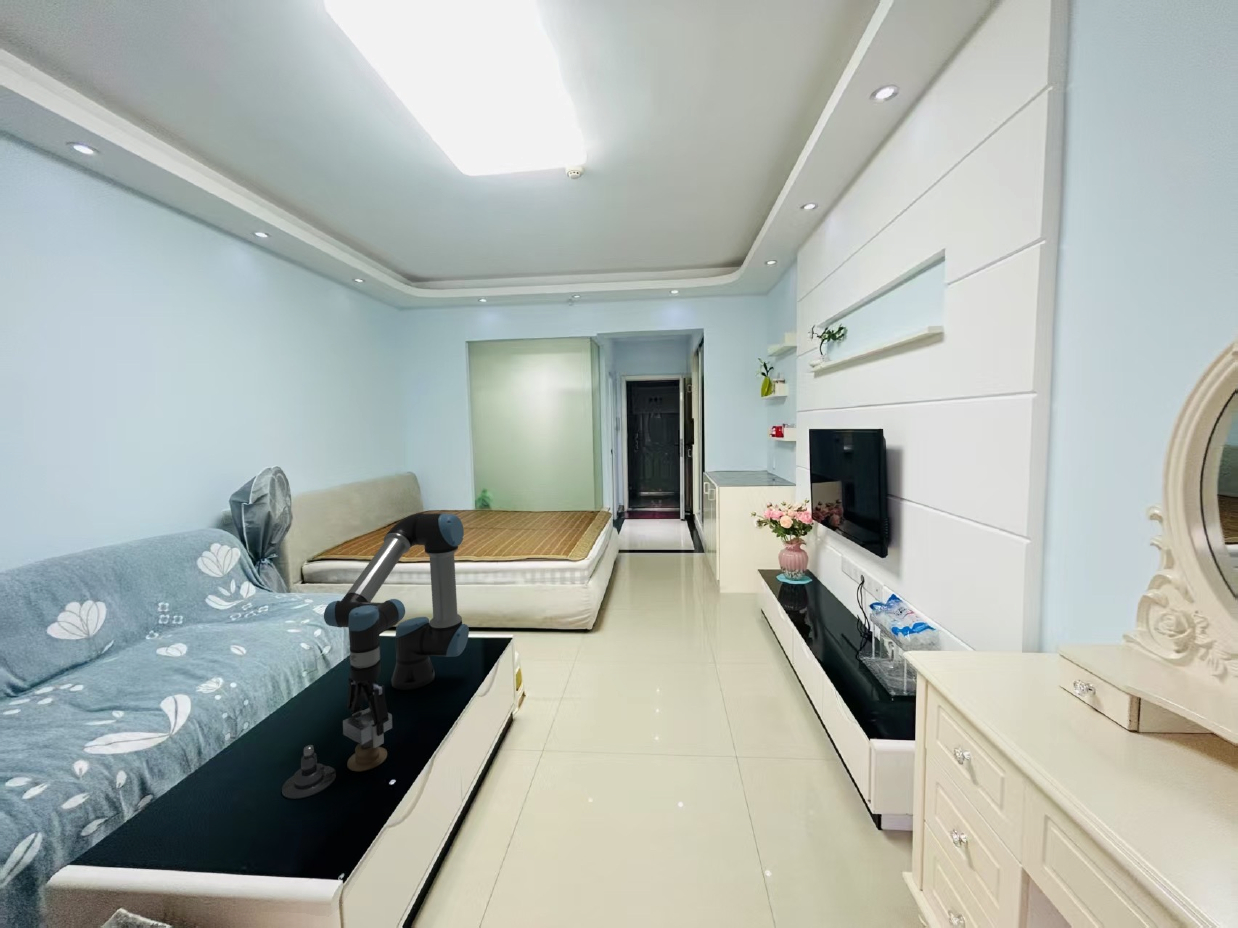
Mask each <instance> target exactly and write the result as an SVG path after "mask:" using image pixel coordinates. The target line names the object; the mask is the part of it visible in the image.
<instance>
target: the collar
mask: <svg viewBox="0 0 1238 928" xmlns="http://www.w3.org/2000/svg"><path fill="white" fill-rule="evenodd" d="M388 717H389V721H387V722H385V723H383V725H384V733H386V732H387V731H389V730H391V729H393V715H392V713H390V712H388ZM377 720H378V719H377ZM373 724H374V721H373V717H372V714H371V711H370V707H369V706H368V708H366V709H364V710H363V711H362V712H360V713H358V714H355V715H353V716H352V715H351V716H349V717H348V718H346V719H343V720H342V735H343V736H345V737H347V738H349V739H351V740H352V741H354V742H356V743H358V744H361V745H363V744H364V743H366V742H368V741H370V740H371V739H373V729H372V725H373Z"/></svg>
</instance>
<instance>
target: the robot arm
mask: <svg viewBox="0 0 1238 928" xmlns="http://www.w3.org/2000/svg"><path fill="white" fill-rule="evenodd" d="M464 530H465V529H464V526H463V522H462V521H461V519H460V518H459V516H458V515H456V514H453V513H446V512H445V513H444V512H443V513H442V512H441V513H420V512H419V513H413V514H410V515H408V516H406V517H404V518H403V519H401V520H400V521H397V523H395V524H394V526H392V527H391V529H389V531H388V532H387V533H386V535H384V537H383V544H382V545H381V546H380V547H379V549H378V550H377V552H376V553H375V554H374V555H373V556H372V558H371V560H370V561H369V563H368V564H366V566H365V567H364V569H363V570H362V572H361V573H360V575H359V576H358V577H357V578H356V580H355V582H354V583H353V584H352V585H351V587H350V588H349V590H348V591H347V592H346V593H345V595H344V596H343V598H342V599H341V600H334V601H331V602H330V603H328V604H327V606H326V607H325V609H324V612H323V620H324V622H325V624H326V625H327V626H329V627H330V626H331V627H335V628H348V635H349V636H348V638H349V657H348V658H349V661H350V665H351V666H350V677H348V692H347V701H346V709H347V710H350V713H351V714H352V715H351V716H353V715H355V714H358V713H360V712H362V711H363V710H362V709H363V708H364V706H363V703H364V700H365V702H367V703H368V708H369V707H370V711H371V714H372V717H373V721H374V724H373V725H372V729H373V748H376V747H378V746H379V747H380V746H381V745H382V744H384V743H385V742H384V741H385V738H384V734H385V732H384V725H383V723H385V722H387V721H389V717H388V713H389V712H388V706H387V700H386V695H385V692H386V691H385V689H386V688H385V685H381V686H380V685H379V683H378V679H377V678H378V677H379V675H380V674H381V673H382V672H381V668H382V667H381V660H380V659H381V644H380V635H381V634H382V633H384V632H385V631H387V630H389V629H391V628H393V627H394V626H395V625H396V628H395V660H396V661H395V662H396V664H395V666H394V669H393V674H392V676H391V687H393V688H394V689H396V690H401V691H402V690H403V691H409V690H415V689H419V688H423V687H424V686H427V685H429V684H430V683H432V682H433V681H434V680H435V669H434V666H433V664H432V661H431V658H430V656H434V657H445V658H446V657H447V658H449V657H458V656H461V654H462V653H463V652H464V650H465V648H466V647H467V643H468V640H469V634H470V633H469V632H470V629H469V625H468V624H466V623H463V617H462V616H461V615H460V614H459V613H458V599H457V583H456V580H457V579H456V562H455V552H457V551H458V549H459V546H460V545H461V544H462V543H463V540H464V535H465V534H464V533H465V531H464ZM414 546H423V547H424V553H425V554H426V555H428V556H429V569H430V583H431V585H430V586H431V588H430V589H431V601H432V602H431V603H432V618H431V619H429V618H428V617H427V616H417V617H413V618H408V619H405V620H403V619H404V617H405V615H406V607H405V605H404V603H403V601H401V600H399V599H398V598H390V599H386V600H385V601H383V602H373V601H372V600H373V599H374V598H375V596H376V595H377V593H378V591H379V590H380V588H381V587H382V586H383V584H384V582H385V581H386V579H387V578H388V577H389V576H390V574H391V572H392V571H393V569H394V568H395V566H396V565H397V564H398V562H399V561H400V559H401V558H402V556H403V555H404V554H406V553H408V552H409V551H410V549H411V548H412V547H414ZM402 620H403V621H402ZM400 621H401V622H400ZM397 624H398V625H397ZM377 719H378V720H377Z"/></svg>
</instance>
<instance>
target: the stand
mask: <svg viewBox="0 0 1238 928" xmlns="http://www.w3.org/2000/svg"><path fill="white" fill-rule="evenodd" d="M354 748H355V749H354V752H355V753H354V754H352V755H351V756H350V757H348V760H347V763H346V765H347V769H348V770H350V771H353V772H365V771H369V770H372V769H374V768H376V767H378V766H380V765H382V763H383V762H385V761H386V759H387V757H388V751H387V749H386V748H384V747H381V746H380V745H379V746H378V747H376V748H373V739H371V740H370V741H368V742H366V743H364V744H363V745H361V744H359V743H358V744H356V746H355V747H354Z"/></svg>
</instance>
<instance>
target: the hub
mask: <svg viewBox="0 0 1238 928" xmlns="http://www.w3.org/2000/svg"><path fill="white" fill-rule="evenodd" d="M336 773H337V771H336V769H335V768H334V767H332V766H329V765H324V764H323V763H320V762H319V763H318V755H317V752H315V749H314V745H313V744H309V745H306V746H304V748H303V755H302V756H301V758H300V768H299V769H298V770H297V771H296V772H295V773H294V774H293V775H292V776H291V777H290V778H288V779H287V780H286V781H284V784H283V785H282V787H281V794H282V796H283V797H284V798H286V799H289V800H300V799H304V798H305V799H306V798H309V797H312V796H314V795H315V796H316V795H317V794H318V793H320V792H323V791H324V790H325V789H327V788H328V787H329V786H330V785H331V784H333V782H334V781H335V779H336V776H337V774H336Z"/></svg>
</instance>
